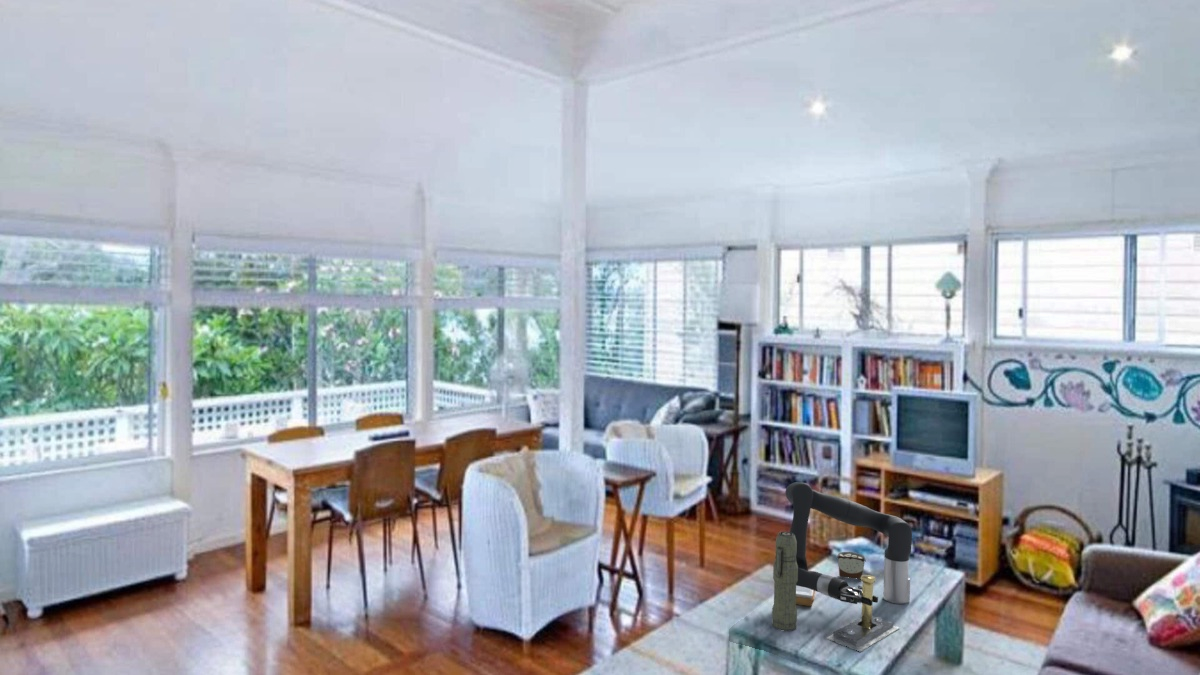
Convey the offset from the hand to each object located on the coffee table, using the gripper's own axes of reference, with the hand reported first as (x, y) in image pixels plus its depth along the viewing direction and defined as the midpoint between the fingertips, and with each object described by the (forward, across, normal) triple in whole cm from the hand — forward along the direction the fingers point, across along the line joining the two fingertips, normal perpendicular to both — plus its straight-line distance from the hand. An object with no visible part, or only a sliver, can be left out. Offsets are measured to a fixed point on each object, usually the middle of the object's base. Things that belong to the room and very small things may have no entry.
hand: (874, 601), depth 265 cm
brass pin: (-3, 0, +11) cm, 11 cm away
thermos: (-25, -19, +13) cm, 34 cm away
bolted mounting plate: (-3, -2, +12) cm, 13 cm away
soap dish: (-34, +7, +13) cm, 37 cm away
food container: (-36, +46, +13) cm, 59 cm away
